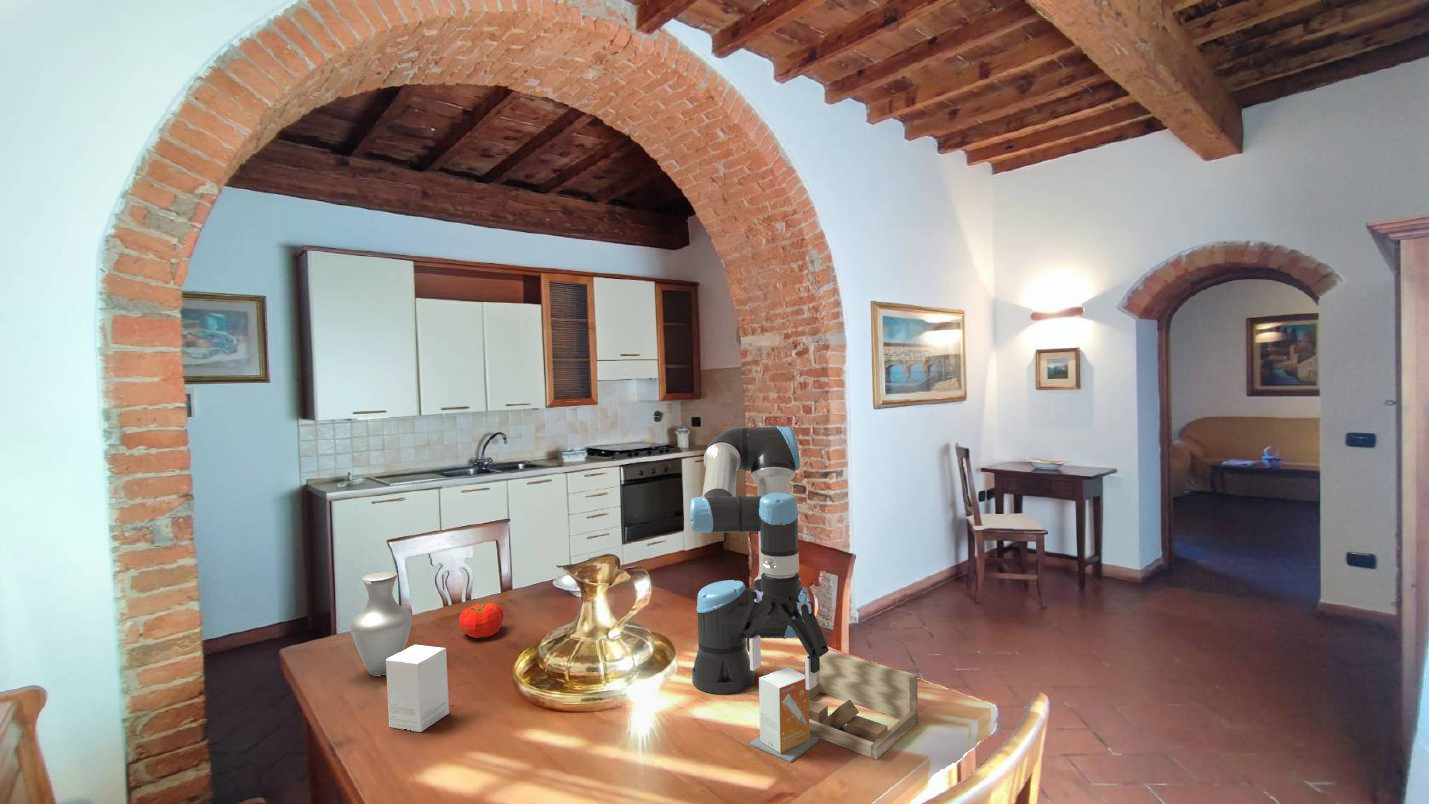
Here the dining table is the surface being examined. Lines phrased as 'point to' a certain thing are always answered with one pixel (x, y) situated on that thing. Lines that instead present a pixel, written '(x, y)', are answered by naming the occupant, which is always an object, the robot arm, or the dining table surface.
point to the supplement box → (417, 687)
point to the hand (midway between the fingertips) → (782, 677)
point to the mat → (786, 755)
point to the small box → (784, 709)
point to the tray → (866, 699)
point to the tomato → (481, 620)
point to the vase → (380, 624)
